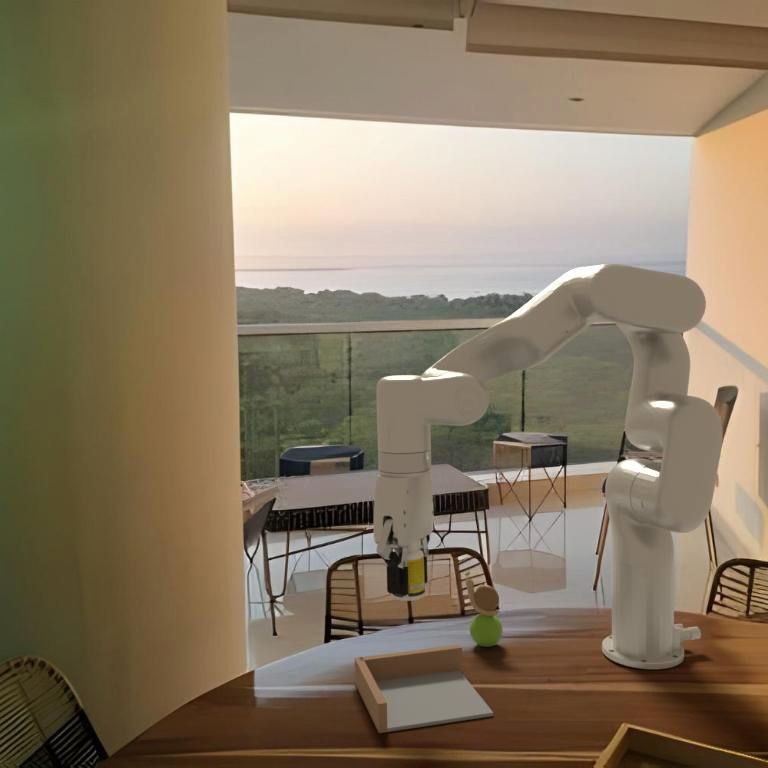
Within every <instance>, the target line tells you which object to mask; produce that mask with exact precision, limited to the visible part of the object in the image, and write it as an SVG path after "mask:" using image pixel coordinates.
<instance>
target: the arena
mask: <svg viewBox="0 0 768 768" xmlns="http://www.w3.org/2000/svg"><path fill="white" fill-rule="evenodd" d="M354 682H355V683H354V684H355V687H356V688H357V690H358V692H359V694H360V697H361V699H362V701H363V703H364V706H365V707H366V709H367V711H368V713H369V715H370V717H371V720H372V722H373V723H374V726H375V728H376V731H377V732H378V734H382V733H390V732H397V731H403V730H404V731H405V730H409V729H417V728H422V727H428V726H429V727H430V726H436V725H442V724H443V725H444V724H448V723H456V722H461V721H467V720H475V719H481V718H488V717H494V712H493V710H492V709H491V708H490V706H489V705H488V704H487V702H486V701H485V700H484V699H483V698H482V697H481V696H480V695H481V694H479V693H478V691H477V690H476V688H475V687H473V685H472V684H471V683H470V681H469V679H467V678H466V676H465V675H464V674H463V647H462V646H461V645H460V644H453V645H446V646H439V647H431V648H423V649H422V648H421V649H414V650H406V651H399V652H391V653H383V654H382V653H381V654H375V655H368V656H367V655H366V656H359V657H354Z"/></svg>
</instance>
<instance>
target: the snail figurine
mask: <svg viewBox="0 0 768 768" xmlns="http://www.w3.org/2000/svg"><path fill="white" fill-rule="evenodd" d="M470 574H471V572H470V571H467V572H465V573H464V575H465V585H466V588H467V595H468V599H469V602H470V605H471V607H472V609H474V610H475V611H476V612H477V613H479V614H477V615H476V616H475V617H474V618H473V619H472V620H471V622H470V625H469V634H470V637H471V639H472V641H474V642H475V644H477V645H478V646H480V647H485V648H489V647H492V646H493V647H494V646H495V645H496V644H498V643H499V642H500V640H501V638H502V636H503V625H502V622H501V621H500V619H499V618H498V617H497V615H498V614H499V613H500V610H499V609H497V607H498V606H499V604H500V597H499V594H498V593H499V592H498V591H497V590H496V589H495V588H494V587H493V586H491V585H489V584H483V585H480V586H478V587H477V589H476V590H475V588H474V585H475V582H474V580H473V579H472V578H469V575H470Z"/></svg>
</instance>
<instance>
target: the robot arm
mask: <svg viewBox="0 0 768 768" xmlns="http://www.w3.org/2000/svg"><path fill="white" fill-rule="evenodd" d="M706 304H707V301H706V296H705V293H704V292H703V290H702V288H701V286H700V285H699V284H698V283H697V282H696V281H695V280H693V279H691V278H690V277H687V276H684V275H681V274H677V273H670V272H664V271H658V270H653V269H647V268H643V267H638V266H636V267H635V266H631V265H625V264H619V263H602V264H596V265H595V264H594V265H588V266H579V267H576V268H574V269H571V270H568V271H567V272H565V273H563V274H562V275H561V276H559V278H557V279H556V280H553V282H552V283H550V284H549V285H548V286H546V287H545V288H544V289H543V290H541V291H540V292H539V293H537V295H535V296H533V297H532V298H531V299H530V300H529V301H528V302H526V303H524V305H522V306H521V307H519V308H518V309H517V310H516V311H514V312H512V314H510V315H509V316H507V317H506V318H505V319H504V318H503V320H501V321H499V322H498V323H495V324H493V325H492V326H490V327H488V328H487V329H485V330H484V331H482V332H481V333H479V334H477V335H475V336H473V337H471V338H470V339H467V340H466V341H465V342H463V343H461V344H460V345H458V346H456V347H455V348H454V349H452V350H450V351H449V352H448V353H447V354H445V355H444V356H443V357H441V358H440V359H439V360H438V361H437V362H435V363H434V364H433V365H431V366H430V367H429V368H427V369H426V370H425V371H424V372H423V373H422V374H421V375H417V374H416V375H415V374H403V375H401V374H400V375H399V374H397V375H388V376H384V377H381V378H380V379H379V380H378V382H377V384H376V421H377V424H376V425H377V455H378V456H377V457H378V459H377V460H378V461H377V463H378V465H377V466H378V475H377V477H376V483H375V490H374V501H373V503H374V505H373V540H374V542H375V544H376V553H377V554H378V555H379V556H380V557H381V558H382V559H383V562H384V563H383V564H384V566H385V567H386V591H387V592H388V594H391V595H392V594H397V595H403V596H406V595H408V593H409V584H408V567H405V563H406V553H407V546H408V545H410V544H412V543H413V542H415V541H417V540H419V539H421V548H420V550H421V551H422V552H423V554H424V579H425V584H427V583H428V555H429V542H430V540H431V535H432V533H433V530H434V529H435V528H434V522H435V521H434V519H435V517H434V513H435V512H434V510H435V509H434V498H433V497H434V496H433V495H434V494H433V486H432V485H433V484H432V479H431V473H432V441H431V440H432V438H431V437H432V436H431V435H432V434H431V430H432V429H431V425H444V426H455V427H456V426H457V427H461V426H468V425H471V424H473V423H474V424H475V422H478V420H480V419H481V418H482V417H483V416H484V415H485V413H486V411H487V409H488V407H489V403H490V402H489V400H490V397H489V392H488V390H487V387H486V384H489V383H491V382H492V381H494V380H497V379H498V378H501V377H503V376H506V375H510V374H513V373H517V372H522V371H526V370H528V369H531V368H534V367H536V366H538V365H541V364H543V363H544V362H546V361H547V360H549V359H550V358H551V357H552V356H553V355H554V354H556V353H557V352H558V351H559V350H561V349H562V348H563V347H564V346H566V345H567V344H568V343H569V342H570V341H572V340H573V339H575V337H577V336H578V335H580V333H582V332H583V331H585V330H586V329H587V328H588V327H590V326H592V325H593V324H595V323H598V324H600V323H601V324H602V323H603V324H604V323H614V324H615V325H616V326H617V328H618V329H619V330H621V332H622V334H623V335H624V336H625V338H626V339H627V341H628V343H629V345H630V347H631V350H632V355H633V371H632V378H631V379H632V380H631V385H630V391H629V397H628V401H627V409H626V415H625V420H624V421H625V423H624V432H625V436H626V438H627V440H628V442H630V444H631V445H633V446H634V447H636V448H638V449H640V450H643V451H646V452H647V451H648V452H650V453H654V454H659V455H662V458H661V462H659V461H653V460H650V459H646V458H635V457H634V458H627V459H624V460H622V461H619V462H618V463H617V464H615V465H614V466H613V467H612V468H611V469H610V471H609V473H608V475H607V476H606V481H605V488H604V489H605V490H604V494H605V501H606V508H607V511H608V513H607V514H608V517H609V522H610V523H609V525H610V536H611V537H610V538H611V540H610V541H611V634H610V635H609V636H606V637H605V638H604V639H603V640H602V643H601V651H602V653H603V654H604V655H605V656H606V657H607V658H608V659H609V660H611V661H613V662H615V663H616V664H620V665H622V666H626V667H629V668H630V667H631V668H633V669H634V668H635V669H641V670H663V669H670V668H674V667H676V666H678V665H680V664H681V663H683V662H684V659H685V649H684V647H683V646H682V645H681V644H682V643H684V642H685V641H688V640H689V641H692V640H699V639H701V637H702V632H701V630H700V627H698V626H689V627H684V624H682V623H675V621H674V620H675V615H674V614H675V607H674V606H675V598H674V597H675V566H674V565H675V548H674V547H675V546H674V539H673V535H672V533H678V534H686V533H690V532H693V531H694V530H696V529H698V528H699V527H700V526H701V525H703V523H704V522H705V520H706V518H707V517H708V516H709V515H708V514H709V512H710V510H711V507H712V505H713V504H712V503H713V500H714V493H715V487H716V481H717V476H718V472H719V471H718V470H719V464H720V459H721V452H722V447H723V446H722V445H723V439H724V438H723V437H724V435H723V434H724V433H723V424H722V419H721V417H720V415H719V412H718V411H717V409H716V408H715V407H714V406H713V405H712V404H711V403H710V402H709V401H707V400H706V399H704V398H700V397H699V396H698V397H697V396H693V395H688V394H689V393H688V392H689V384H690V383H689V382H690V375H691V374H690V373H691V357H690V351H689V348H688V345H687V343H686V340H685V339H684V336H683V335H682V334H683V333H687V332H689V331H692V329H694V328H695V327H696V326H697V325H699V323H700V322H701V321H702V319H703V317H704V315H705V312H706V309H707V308H706V307H707V306H706ZM393 540H398V543H397V544H393ZM393 548H395V549H400V550H399V556H398V555H397V554H396V552H393V551H394V549H393Z"/></svg>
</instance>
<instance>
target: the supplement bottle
mask: <svg viewBox="0 0 768 768" xmlns="http://www.w3.org/2000/svg"><path fill="white" fill-rule="evenodd" d="M397 543H398V540H393V544H397ZM420 548H421V539H419V540H417V541H415V542H413V543H412V544H410V545H408V546H407V553H406V563H405V567H408V584H409V593H408V595H406V596H403V595H397V594H392V593H391V595H392V597H393V598H394V599H395V600H397V601H403V602H404V601H405V602H409V601H417V600H420V599H422V598H423V597H424V596H425V594H426V583H425V579H424V556H425V555H424V554H423V552H422V551H421V550H420ZM399 550H400V549H395V548H393V552H396V554H397V555H398V556H399Z"/></svg>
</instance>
